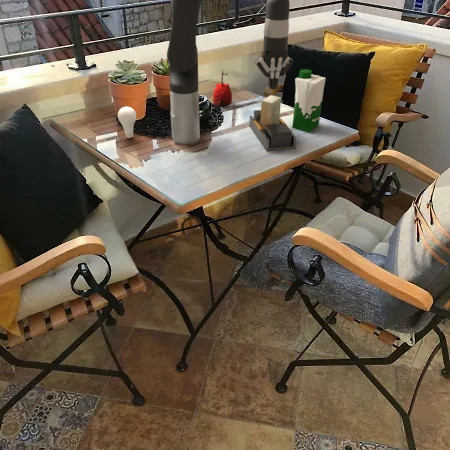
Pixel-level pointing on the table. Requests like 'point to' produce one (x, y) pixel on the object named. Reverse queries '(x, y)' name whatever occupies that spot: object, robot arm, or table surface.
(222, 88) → the red clay folk toy
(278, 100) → the skincare box
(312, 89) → the milk carton
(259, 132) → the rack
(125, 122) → the lightbulb
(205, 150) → the table surface
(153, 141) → the table surface
